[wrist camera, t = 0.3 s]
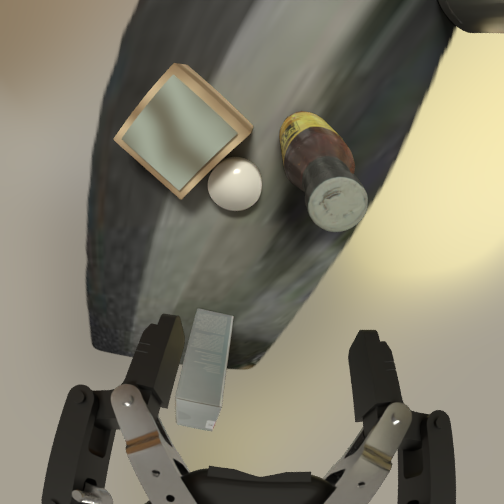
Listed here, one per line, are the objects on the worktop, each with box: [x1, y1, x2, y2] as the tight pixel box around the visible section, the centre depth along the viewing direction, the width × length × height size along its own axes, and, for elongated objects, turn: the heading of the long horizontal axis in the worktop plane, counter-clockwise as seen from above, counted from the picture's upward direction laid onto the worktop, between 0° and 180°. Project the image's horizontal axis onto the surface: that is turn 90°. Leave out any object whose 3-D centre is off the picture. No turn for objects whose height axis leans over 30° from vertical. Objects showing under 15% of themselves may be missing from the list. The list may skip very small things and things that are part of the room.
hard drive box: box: [175, 308, 233, 431], centre depth 49 cm, size 16×8×20 cm, turn 167°
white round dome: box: [208, 157, 262, 211], centre depth 36 cm, size 7×7×2 cm
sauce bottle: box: [279, 111, 368, 232], centre depth 24 cm, size 7×6×20 cm
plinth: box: [113, 63, 253, 199], centre depth 30 cm, size 12×12×5 cm
